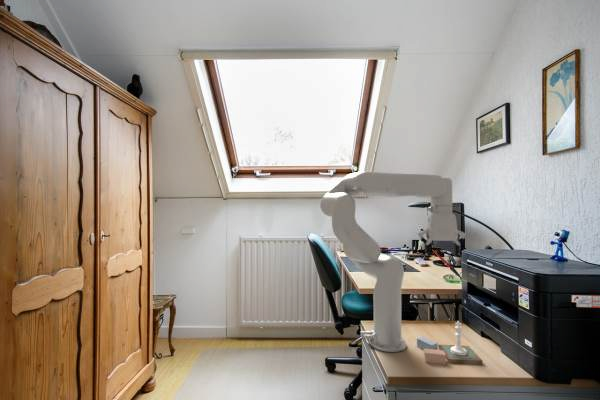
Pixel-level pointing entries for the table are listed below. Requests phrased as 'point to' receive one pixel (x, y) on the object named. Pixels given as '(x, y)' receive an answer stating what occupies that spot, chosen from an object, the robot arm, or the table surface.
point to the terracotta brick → (434, 356)
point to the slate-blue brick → (426, 343)
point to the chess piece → (458, 342)
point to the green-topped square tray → (454, 358)
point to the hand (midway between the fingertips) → (441, 255)
